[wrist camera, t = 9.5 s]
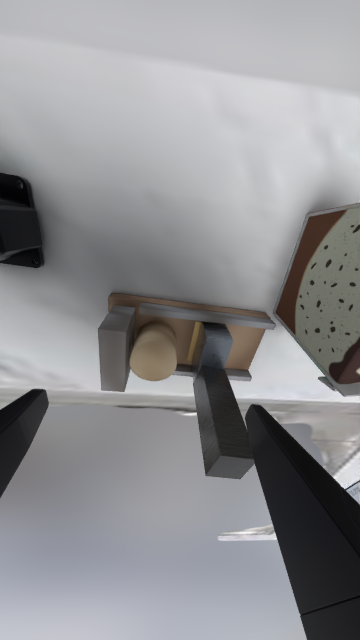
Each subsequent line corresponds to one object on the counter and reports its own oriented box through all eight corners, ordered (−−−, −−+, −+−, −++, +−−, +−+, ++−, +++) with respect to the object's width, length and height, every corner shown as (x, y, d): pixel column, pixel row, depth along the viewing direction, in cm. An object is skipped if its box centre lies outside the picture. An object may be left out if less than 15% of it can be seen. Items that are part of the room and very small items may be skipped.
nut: (136, 351, 20) (128, 379, 17) (138, 318, 18) (130, 342, 15) (172, 354, 21) (173, 382, 17) (178, 323, 19) (180, 347, 15)
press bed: (112, 355, 22) (96, 395, 17) (111, 292, 18) (90, 320, 13) (242, 367, 24) (261, 406, 19) (265, 312, 20) (296, 342, 15)
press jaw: (189, 364, 21) (204, 478, 12) (200, 320, 18) (229, 422, 9) (212, 367, 21) (245, 479, 12) (226, 323, 19) (280, 424, 10)
